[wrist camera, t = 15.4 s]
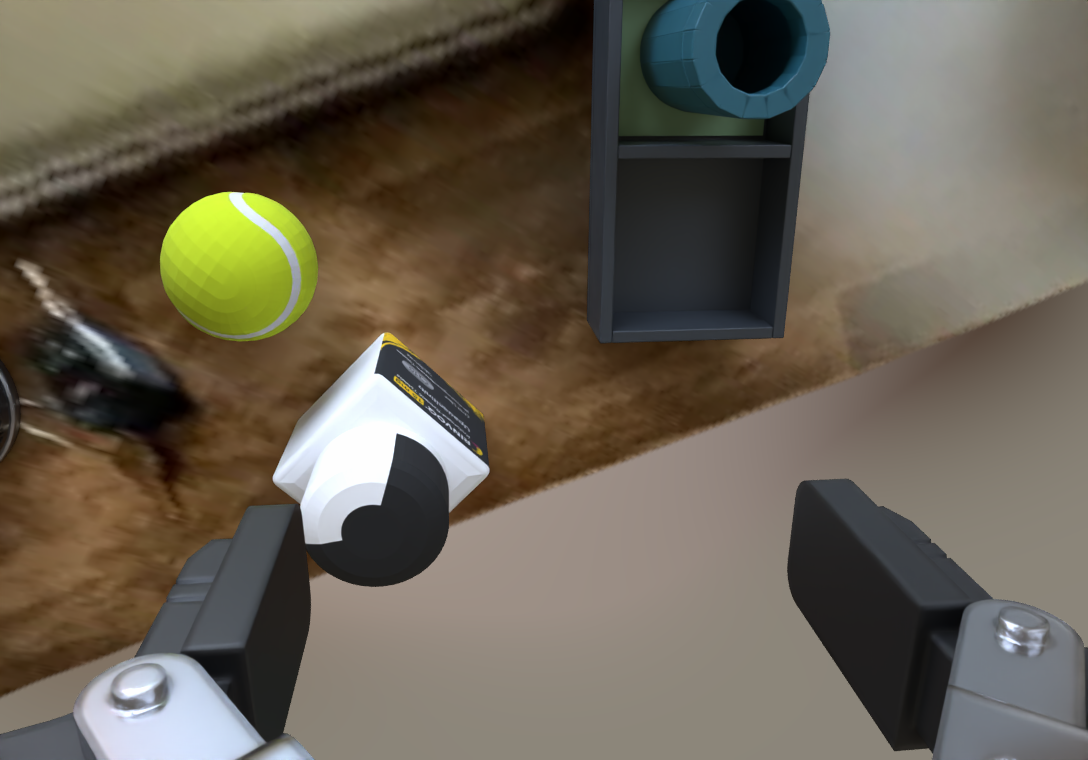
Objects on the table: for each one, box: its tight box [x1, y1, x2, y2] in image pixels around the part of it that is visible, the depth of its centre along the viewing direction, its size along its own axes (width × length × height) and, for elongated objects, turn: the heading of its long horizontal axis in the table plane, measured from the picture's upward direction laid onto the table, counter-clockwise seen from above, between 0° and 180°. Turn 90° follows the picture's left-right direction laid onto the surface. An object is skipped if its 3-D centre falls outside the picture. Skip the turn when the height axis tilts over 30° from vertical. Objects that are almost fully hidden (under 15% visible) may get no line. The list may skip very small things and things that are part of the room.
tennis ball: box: [160, 192, 318, 341], centre depth 38 cm, size 7×7×7 cm
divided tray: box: [587, 0, 810, 343], centre depth 39 cm, size 9×18×4 cm, turn 0°
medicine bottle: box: [273, 332, 489, 587], centre depth 39 cm, size 7×7×12 cm
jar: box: [640, 0, 830, 119], centre depth 35 cm, size 5×5×9 cm
